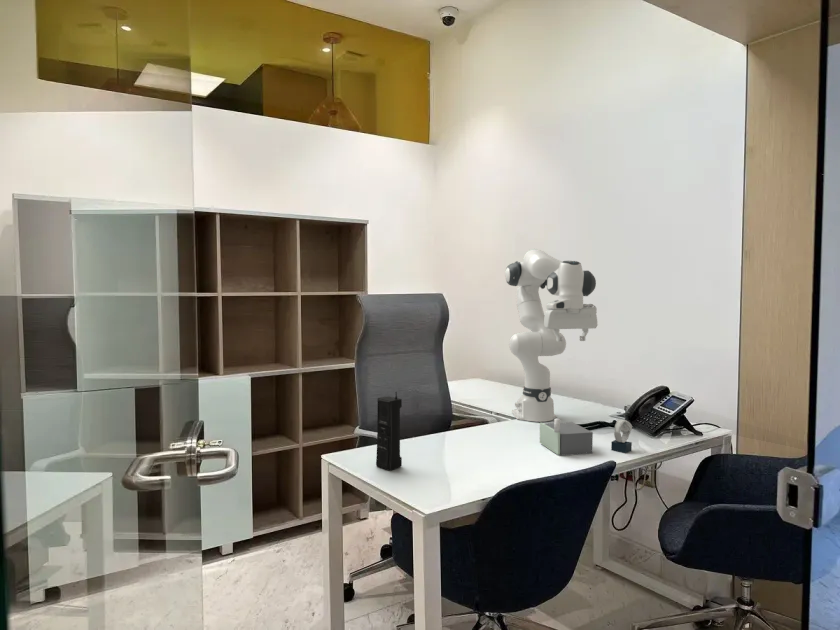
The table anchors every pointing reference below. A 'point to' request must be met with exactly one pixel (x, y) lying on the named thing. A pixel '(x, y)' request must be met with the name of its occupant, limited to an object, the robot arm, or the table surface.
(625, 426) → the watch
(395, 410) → the portable radio
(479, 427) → the table surface
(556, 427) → the side door
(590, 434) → the case
